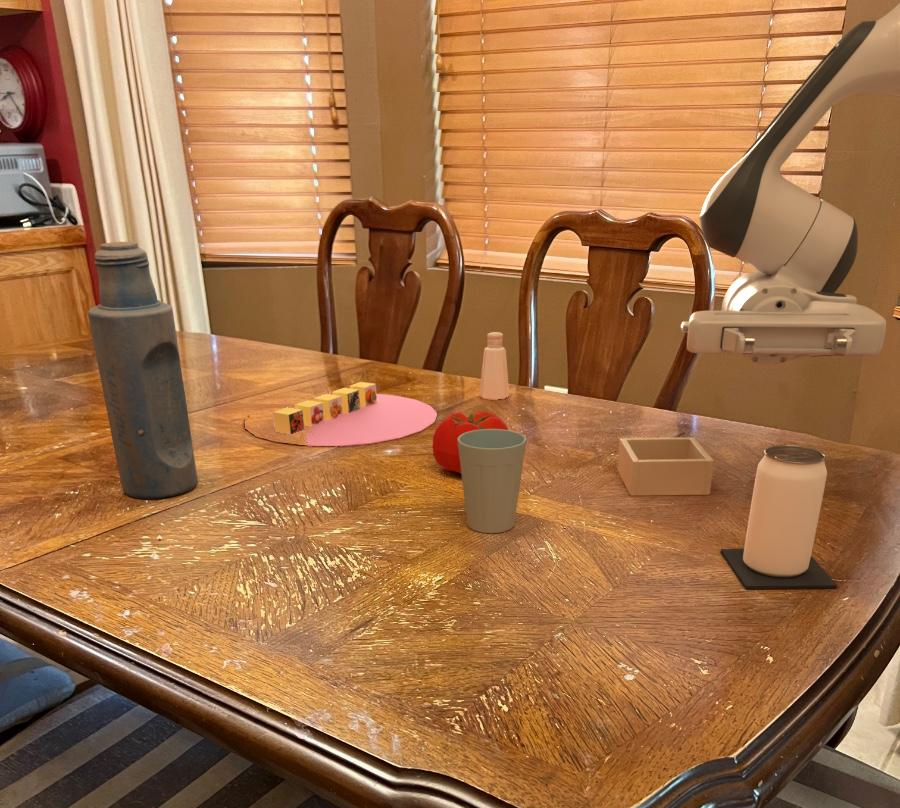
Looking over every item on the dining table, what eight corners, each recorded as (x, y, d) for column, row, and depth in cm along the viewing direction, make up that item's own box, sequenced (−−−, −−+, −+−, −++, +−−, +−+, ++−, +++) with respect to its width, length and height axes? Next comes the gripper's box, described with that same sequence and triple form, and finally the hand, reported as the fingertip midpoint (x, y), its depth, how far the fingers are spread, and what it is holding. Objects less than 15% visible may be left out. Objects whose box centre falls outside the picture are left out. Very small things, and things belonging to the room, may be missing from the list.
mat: (803, 551, 93) (804, 547, 93) (836, 588, 85) (837, 585, 85) (720, 552, 93) (720, 548, 93) (745, 589, 85) (746, 586, 85)
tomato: (496, 454, 124) (497, 402, 121) (519, 478, 115) (521, 423, 111) (424, 460, 122) (423, 408, 119) (442, 485, 113) (441, 430, 109)
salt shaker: (477, 400, 152) (478, 336, 147) (480, 392, 157) (480, 330, 152) (508, 400, 151) (509, 336, 146) (510, 393, 156) (511, 330, 151)
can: (730, 556, 91) (747, 446, 85) (785, 549, 92) (805, 441, 87) (763, 582, 85) (783, 466, 80) (821, 575, 87) (845, 461, 81)
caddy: (690, 469, 117) (694, 437, 115) (709, 495, 108) (714, 460, 106) (617, 470, 117) (619, 438, 115) (630, 495, 109) (633, 461, 106)
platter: (200, 428, 138) (197, 407, 137) (326, 386, 162) (325, 368, 161) (360, 459, 123) (358, 436, 121) (472, 407, 147) (473, 388, 146)
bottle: (162, 471, 119) (122, 237, 106) (214, 482, 115) (179, 240, 101) (106, 492, 112) (55, 244, 98) (159, 505, 108) (113, 248, 94)
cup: (452, 514, 104) (452, 430, 99) (514, 510, 105) (517, 426, 100) (464, 539, 97) (464, 450, 92) (530, 534, 98) (533, 446, 93)
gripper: (682, 294, 100) (692, 314, 87) (869, 295, 96) (907, 315, 84) (676, 350, 102) (686, 376, 90) (858, 352, 99) (893, 379, 87)
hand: (794, 347), depth 87 cm, fingers open, 8 cm apart
